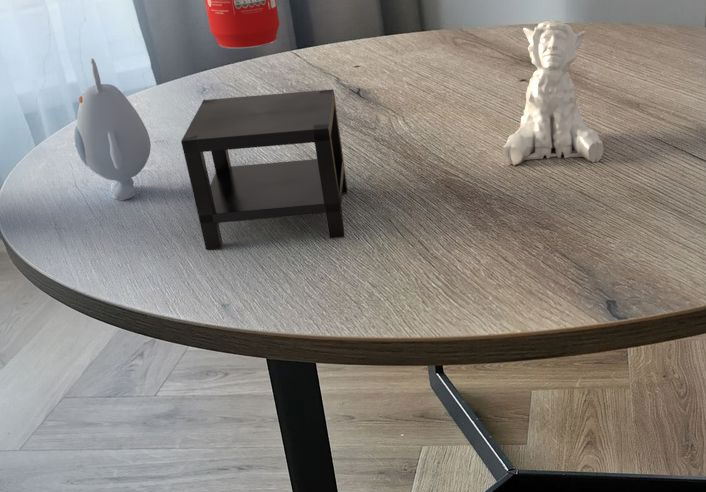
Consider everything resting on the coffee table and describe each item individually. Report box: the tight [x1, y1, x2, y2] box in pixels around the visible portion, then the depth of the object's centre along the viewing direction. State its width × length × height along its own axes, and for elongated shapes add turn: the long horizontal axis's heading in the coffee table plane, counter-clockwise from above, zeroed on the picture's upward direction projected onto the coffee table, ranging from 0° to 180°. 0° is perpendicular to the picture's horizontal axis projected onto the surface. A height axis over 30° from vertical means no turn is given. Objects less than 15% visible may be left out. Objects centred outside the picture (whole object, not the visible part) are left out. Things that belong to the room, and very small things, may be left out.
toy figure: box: [73, 58, 152, 201], centre depth 85 cm, size 11×6×12 cm, turn 23°
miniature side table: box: [180, 89, 348, 251], centre depth 79 cm, size 11×11×9 cm
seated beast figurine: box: [500, 19, 605, 167], centre depth 90 cm, size 10×9×12 cm
